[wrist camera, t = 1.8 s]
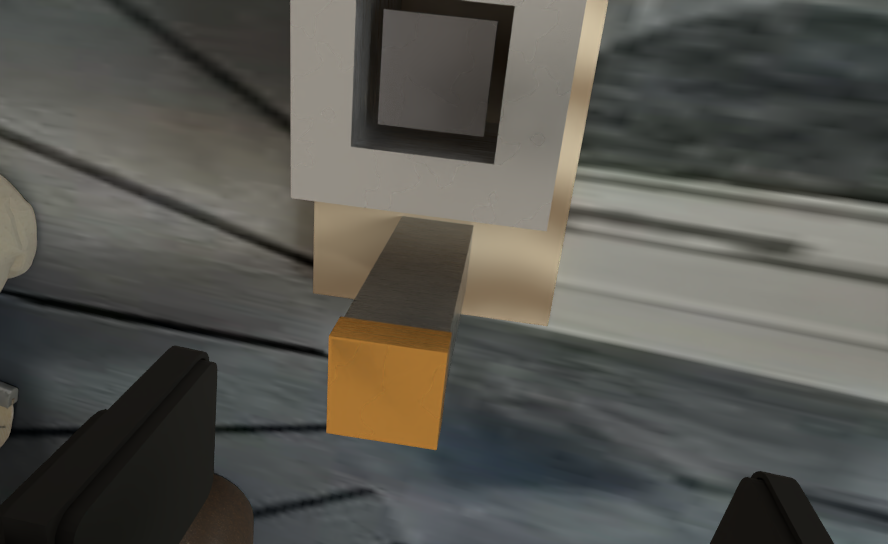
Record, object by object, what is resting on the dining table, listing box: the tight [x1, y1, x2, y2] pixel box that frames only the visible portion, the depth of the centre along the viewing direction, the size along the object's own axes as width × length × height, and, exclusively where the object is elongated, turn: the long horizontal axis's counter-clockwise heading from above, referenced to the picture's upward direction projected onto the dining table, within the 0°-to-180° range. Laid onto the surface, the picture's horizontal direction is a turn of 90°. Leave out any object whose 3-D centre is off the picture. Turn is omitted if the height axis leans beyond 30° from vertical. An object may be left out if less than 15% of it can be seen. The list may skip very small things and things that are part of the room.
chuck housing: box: [290, 0, 587, 231], centre depth 27 cm, size 10×10×9 cm
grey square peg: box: [326, 216, 474, 450], centre depth 29 cm, size 4×4×14 cm
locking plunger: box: [378, 9, 499, 137], centre depth 25 cm, size 4×4×1 cm
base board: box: [313, 0, 608, 326], centre depth 32 cm, size 28×14×2 cm, turn 174°
